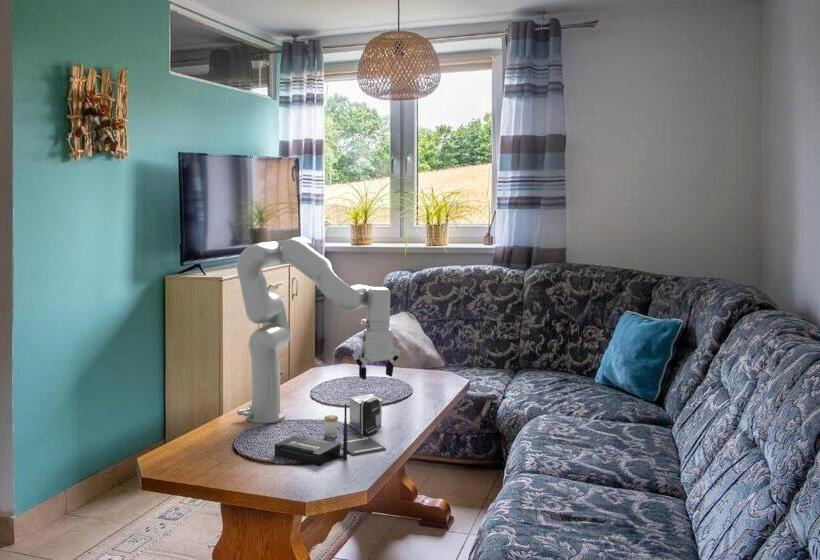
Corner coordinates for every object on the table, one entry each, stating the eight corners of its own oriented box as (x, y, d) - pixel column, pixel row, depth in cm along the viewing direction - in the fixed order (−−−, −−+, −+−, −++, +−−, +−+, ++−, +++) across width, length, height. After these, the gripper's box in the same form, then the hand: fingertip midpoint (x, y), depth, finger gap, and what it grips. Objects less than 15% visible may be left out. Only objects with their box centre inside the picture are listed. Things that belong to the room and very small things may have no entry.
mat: (352, 455, 210) (352, 453, 210) (337, 444, 220) (337, 442, 220) (385, 450, 216) (385, 447, 216) (369, 439, 225) (369, 436, 225)
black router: (270, 459, 208) (270, 401, 206) (299, 445, 220) (299, 390, 218) (327, 472, 198) (328, 412, 196) (354, 457, 211) (355, 400, 209)
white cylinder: (327, 438, 225) (327, 420, 224) (322, 434, 229) (322, 416, 228) (339, 436, 227) (339, 418, 226) (334, 432, 231) (334, 414, 230)
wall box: (359, 429, 235) (359, 403, 234) (348, 421, 242) (348, 397, 241) (382, 425, 239) (383, 400, 238) (371, 418, 246) (371, 394, 245)
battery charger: (369, 437, 226) (369, 402, 225) (359, 435, 228) (359, 400, 227) (381, 431, 232) (381, 397, 231) (371, 429, 234) (372, 395, 233)
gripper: (359, 329, 223) (357, 382, 225) (406, 325, 232) (404, 377, 234) (348, 325, 230) (347, 376, 232) (395, 321, 239) (393, 371, 241)
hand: (376, 377), depth 233 cm, fingers open, 9 cm apart
